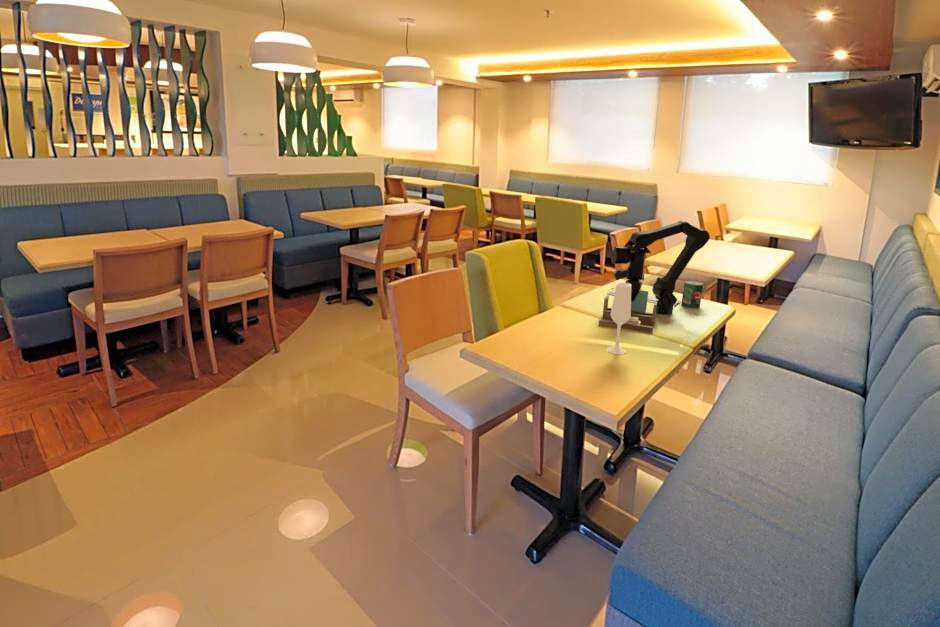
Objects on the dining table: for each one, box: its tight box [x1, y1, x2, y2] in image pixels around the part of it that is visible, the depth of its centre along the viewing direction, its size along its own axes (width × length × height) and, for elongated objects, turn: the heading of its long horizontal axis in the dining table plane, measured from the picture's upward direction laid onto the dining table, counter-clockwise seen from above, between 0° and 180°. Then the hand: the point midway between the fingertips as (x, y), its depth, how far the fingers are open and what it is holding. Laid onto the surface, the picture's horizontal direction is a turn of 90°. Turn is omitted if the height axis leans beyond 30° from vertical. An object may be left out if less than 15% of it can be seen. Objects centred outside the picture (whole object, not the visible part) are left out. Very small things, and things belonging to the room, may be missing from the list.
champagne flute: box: [607, 281, 631, 355], centre depth 184 cm, size 7×7×24 cm
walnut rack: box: [598, 295, 657, 334], centre depth 213 cm, size 18×20×9 cm
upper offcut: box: [626, 317, 639, 325], centre depth 210 cm, size 5×8×1 cm, turn 76°
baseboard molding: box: [606, 287, 682, 307], centre depth 252 cm, size 31×3×12 cm
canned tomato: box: [680, 280, 704, 310], centre depth 240 cm, size 8×8×11 cm
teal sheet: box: [631, 288, 649, 312], centre depth 224 cm, size 2×12×9 cm, turn 69°
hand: (632, 300), depth 224 cm, fingers closed on teal sheet, 2 cm apart
